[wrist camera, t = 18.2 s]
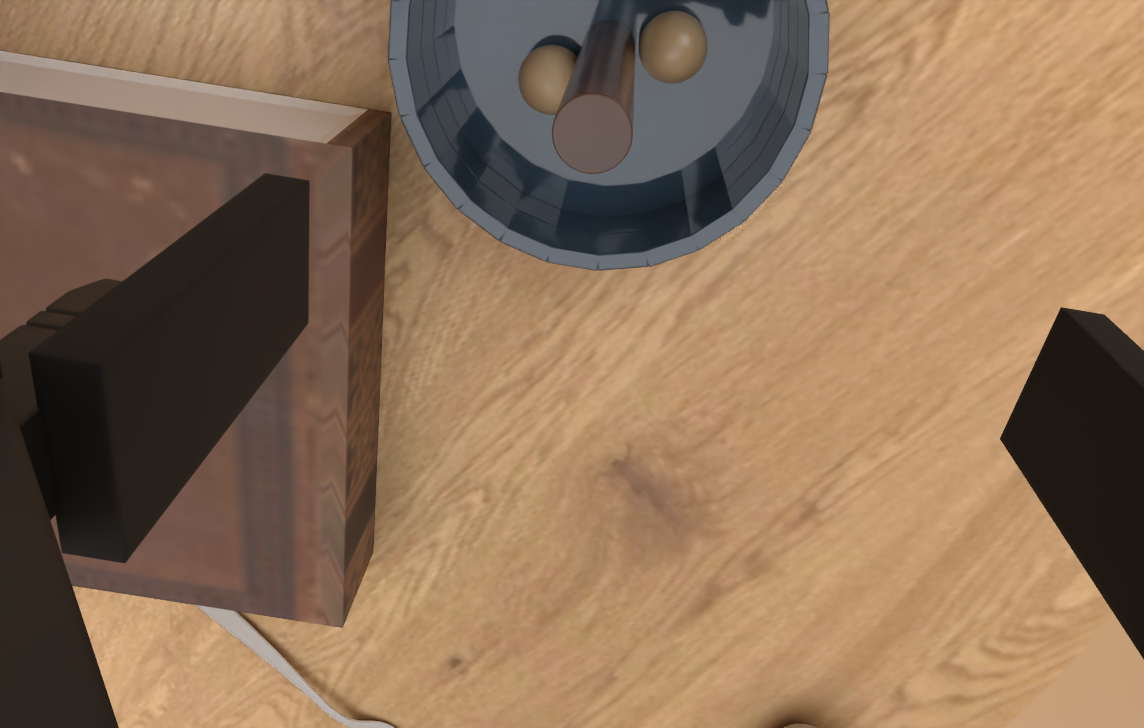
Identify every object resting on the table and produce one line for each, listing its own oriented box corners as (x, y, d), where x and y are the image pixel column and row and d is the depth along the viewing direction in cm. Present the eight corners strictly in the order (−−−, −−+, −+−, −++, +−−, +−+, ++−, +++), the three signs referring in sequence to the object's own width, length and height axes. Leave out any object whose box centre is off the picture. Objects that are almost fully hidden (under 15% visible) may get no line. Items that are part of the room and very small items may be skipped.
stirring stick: (587, 15, 39) (558, 86, 25) (640, 25, 39) (640, 100, 25) (578, 70, 41) (546, 167, 27) (630, 79, 41) (624, 181, 27)
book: (391, 112, 43) (352, 147, 37) (373, 552, 56) (342, 627, 51) (-107, 33, 43) (-223, 56, 37) (-6, 493, 56) (-80, 562, 50)
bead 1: (592, 36, 39) (543, 39, 37) (604, 105, 40) (555, 112, 38) (548, 50, 41) (498, 54, 39) (559, 116, 42) (511, 123, 40)
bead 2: (653, -6, 39) (698, -5, 36) (688, 44, 41) (733, 47, 38) (613, 47, 38) (656, 51, 36) (649, 94, 40) (692, 101, 38)
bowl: (435, -215, 36) (401, -232, 31) (854, -141, 37) (890, -146, 31) (409, 193, 45) (378, 234, 40) (750, 251, 45) (764, 299, 40)
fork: (200, 569, 58) (188, 588, 56) (451, 769, 66) (446, 791, 64) (170, 591, 59) (158, 610, 58) (420, 785, 67) (415, 807, 66)
